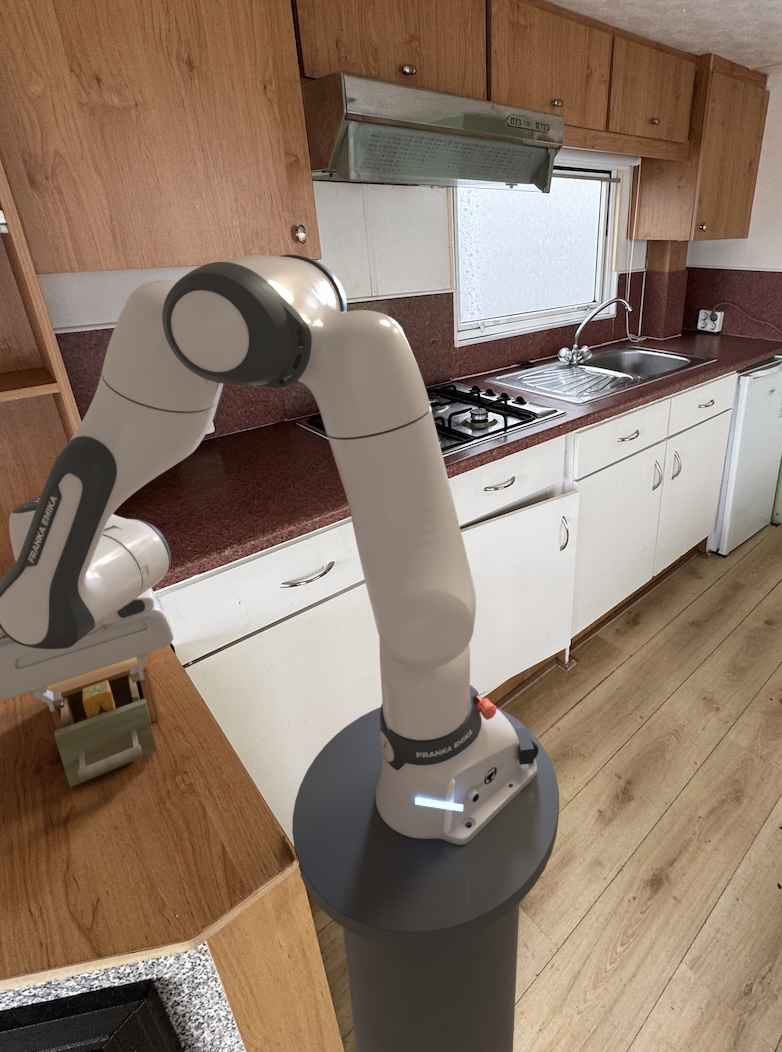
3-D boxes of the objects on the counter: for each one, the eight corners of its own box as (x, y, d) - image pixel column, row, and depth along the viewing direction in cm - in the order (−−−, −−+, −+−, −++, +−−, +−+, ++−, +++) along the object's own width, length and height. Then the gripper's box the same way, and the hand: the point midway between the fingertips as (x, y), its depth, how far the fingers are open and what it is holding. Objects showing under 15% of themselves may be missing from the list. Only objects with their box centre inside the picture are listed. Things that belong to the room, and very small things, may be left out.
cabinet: (155, 720, 91) (142, 665, 87) (64, 755, 84) (46, 697, 80) (143, 669, 102) (131, 618, 98) (62, 696, 95) (46, 643, 91)
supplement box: (123, 732, 86) (109, 677, 82) (125, 748, 83) (111, 692, 80) (97, 742, 84) (81, 687, 81) (97, 758, 81) (81, 702, 78)
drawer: (162, 774, 80) (151, 724, 77) (71, 814, 74) (55, 762, 72) (145, 696, 94) (134, 651, 91) (67, 724, 88) (53, 678, 85)
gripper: (-31, 651, 68) (2, 742, 73) (165, 594, 79) (183, 676, 84) (-26, 624, 73) (4, 711, 77) (158, 575, 84) (175, 653, 89)
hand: (99, 692), depth 81 cm, fingers open, 8 cm apart
